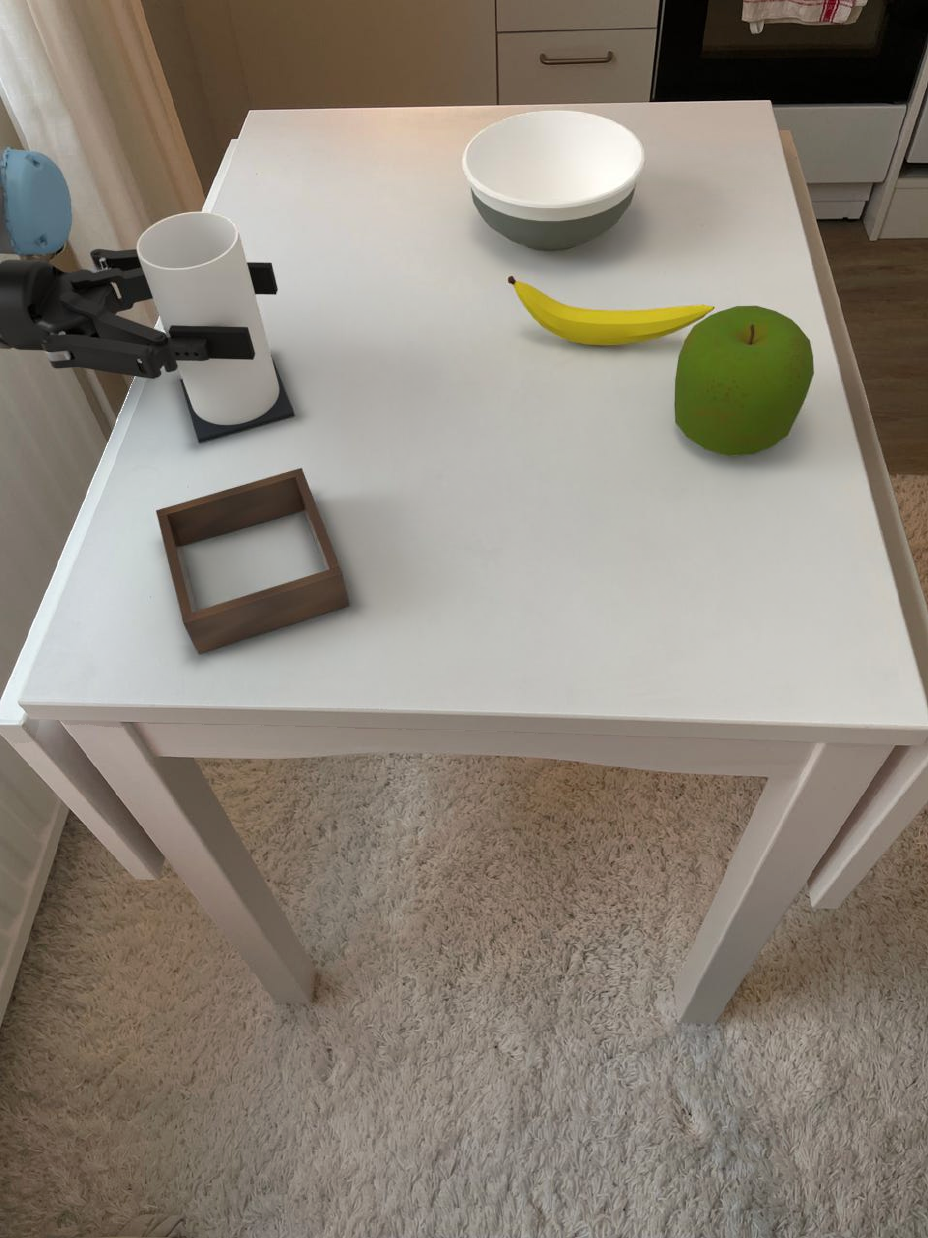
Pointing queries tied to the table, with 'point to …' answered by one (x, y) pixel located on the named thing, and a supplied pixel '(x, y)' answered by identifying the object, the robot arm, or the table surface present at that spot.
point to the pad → (213, 431)
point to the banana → (605, 319)
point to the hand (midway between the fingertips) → (262, 309)
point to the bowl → (553, 176)
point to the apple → (742, 380)
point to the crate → (264, 606)
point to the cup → (210, 311)
